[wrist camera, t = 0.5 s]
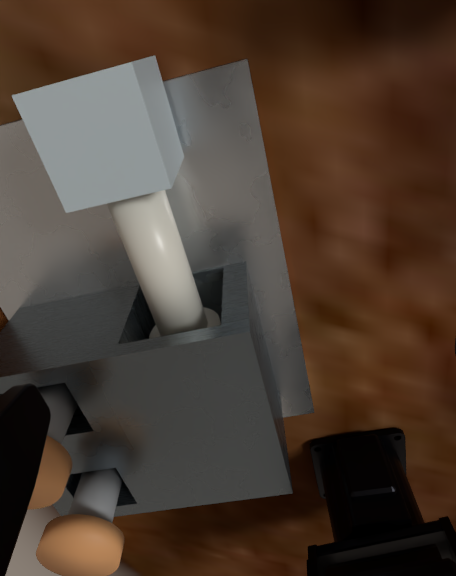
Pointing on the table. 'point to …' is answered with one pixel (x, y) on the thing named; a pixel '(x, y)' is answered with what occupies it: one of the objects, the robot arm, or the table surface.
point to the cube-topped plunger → (122, 175)
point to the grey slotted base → (139, 321)
